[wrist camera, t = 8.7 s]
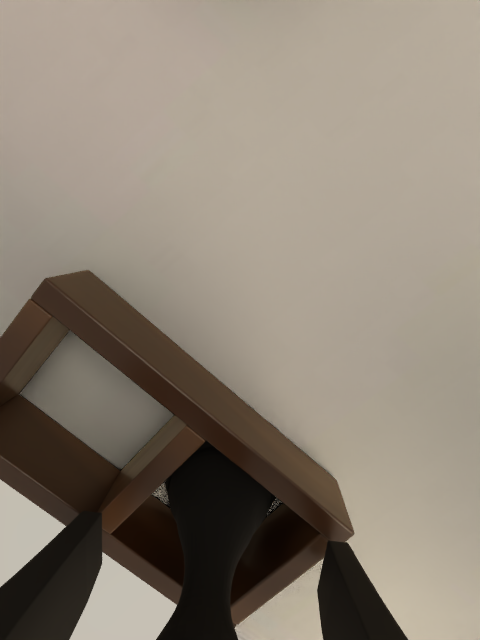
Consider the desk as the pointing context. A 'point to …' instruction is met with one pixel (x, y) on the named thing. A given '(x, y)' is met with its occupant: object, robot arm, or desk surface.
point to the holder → (156, 448)
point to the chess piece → (211, 539)
